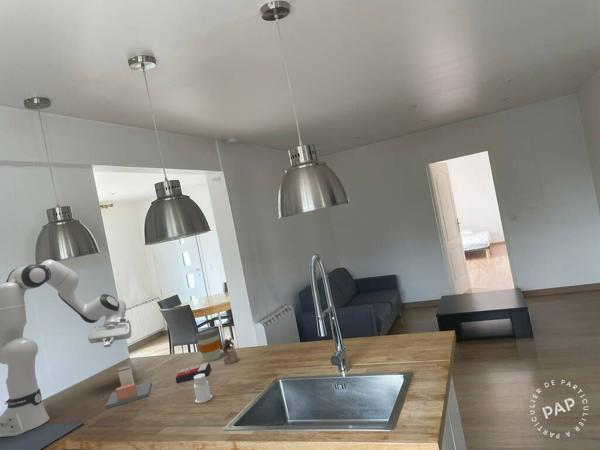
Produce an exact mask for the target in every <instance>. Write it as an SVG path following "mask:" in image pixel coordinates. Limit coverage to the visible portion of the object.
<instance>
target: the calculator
mask: <svg viewBox="0 0 600 450" xmlns="http://www.w3.org/2000/svg"><path fill="white" fill-rule="evenodd" d="M211 370H212V367H211V363H210V362H205V363H202V364H198V365H197V364H196V365H193V366H190V367H186V368H183V369H180V370H179V372H178V373H177V375H176V376H175V381H176V384H180V383H185V382H190V381H194V376H196V375H198V374H205V377H206V378H207V377H208V376H209V374H210V373H211Z"/></svg>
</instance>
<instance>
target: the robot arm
mask: <svg viewBox="0 0 600 450" xmlns="http://www.w3.org/2000/svg"><path fill="white" fill-rule="evenodd" d="M45 283H46V284H48V285H49V286H50V287H53V288H54V289H55V290H56V291H57V292H58V293H57V294H58V295H57V296H58V297H59V298H60V299H61V301H63V302H64V303H65V304H66V305H67V306H68V307H70V308H71V309H72V310H73V311H75V313H76V314H78V315H79V316H80V318H81V319H82V320H83V321H84V322H85V323H89V324H94V323H97V321H99V320H100V319H101V318H103V317H105V320H104V323H103V326H96V327H94V328H92V329H91V330H90V333H89V335H88V336H87V337H88V338H87V340H88V342H89V343H90V344H97V343H103V347H104V348H110V347H111V346H112V345H113V344H114V343H115V341H120V340H128V339H130V338H131V337H132V325H131V321H130V319H129V318H125V317H126V312H127V304H126V302H125V301H124V300H123V299H120V298H115V297H114V296H112V295H110V294H107V293H104V294H101V295H100V296H98V297H96V298H95V299H94V300H92V301H91V302H89V303H85V302H83V300H81V299H80V298H78V296H77V295H75V292H76V290H77V287H78V286H79V276H78V274H77V273H76V272H75V271H74V270H72V269H71V268H69V267H67V266H66V265H64V264H62V263H60V262H58V261H56V260H53V259H46V260H44V261H42V262H41V263H40V264H32V263H31V264H28V265H27V264H26V265H22V266H20V267H17V268H14V269H13V270H11V272H9V274H8V277H7V279H6V281H5V282H4V283H3V282H2V283H1V284H0V364H2V365H7V377H6V380H5V384H6V388H7V393H8V400H6V401H4V405H7V408H6V409H5V411H3V413H2V414H1V415H0V438H2V437H15V436H19V435H21V434H23V433H25V432H28V431H30V430H33V429H35V428H38V427H40V426H41V425H43V424H45V423H46V422H47V423H48V421H49V420H50V416H49V415H48V412H47V410H46V408H45V406H44V403H43V401H42V400H43V399H42V393H41V389H40V388H39V385H38V380H37V377H36V376H37V375H36V356H37V355H38V353H39V346H38V343H37V342H36V341H34V340H33V339H30V338H27V337H24V330H25V326H26V325H27V323H28V321H27V311H26V304H25V295H26V294H25V293H26V291H28V290H32V289H36V288H39V287H41V286H42V285H44V284H45Z"/></svg>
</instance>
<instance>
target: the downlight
mask: <svg viewBox="0 0 600 450" xmlns="http://www.w3.org/2000/svg"><path fill="white" fill-rule="evenodd" d="M193 382H194V385H193V389H194V390H193V391H194V393H195V400H194V402H195V403H197V404H202V403H206V402H208V401H210V400H211V399H213V395H212V394H211V389H210V386H209V381H207V377H205V374H198V375H196V376H194V380H193Z"/></svg>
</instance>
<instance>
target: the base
mask: <svg viewBox="0 0 600 450" xmlns="http://www.w3.org/2000/svg"><path fill="white" fill-rule="evenodd" d="M152 385H153V384H152V380H151V381H147V382H143V383H140V384H136V383H135V382H134V383H133V384H130V385H126V386H123V387H121V386H120V387H116V389H115V391H112V392H111V394H110V396H109V398H108V401H107V402H106V404H105V409H106V410H107V409H111V408H114V407H118V406H120V404H121V405H124V403H125V404H127V402H128V403H130V402H131V403H132V402H134V401H138V400H142V399H144V398H147V397H148V398H149V396H150V393H151V389H152ZM117 405H118V406H117Z"/></svg>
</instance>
